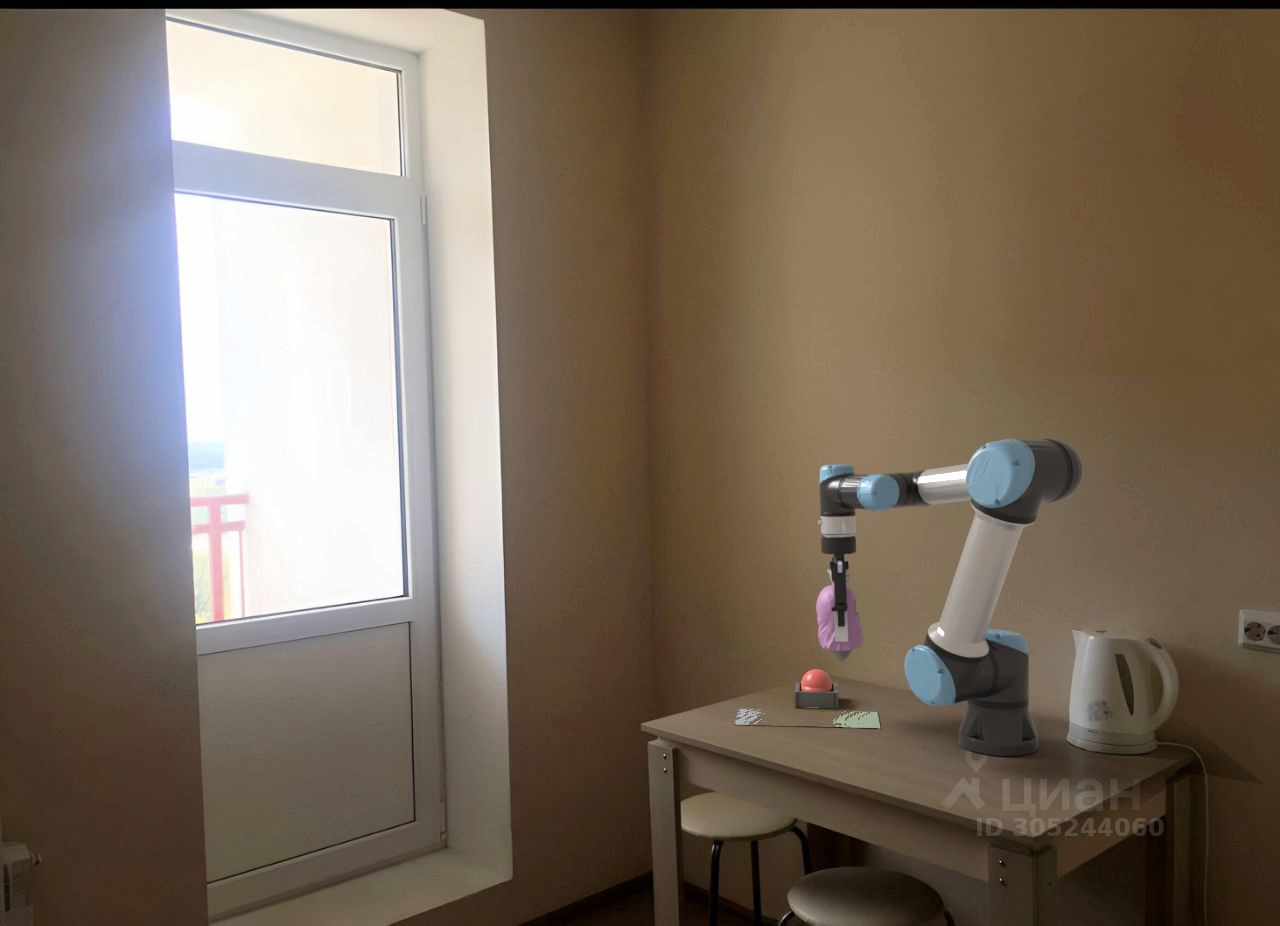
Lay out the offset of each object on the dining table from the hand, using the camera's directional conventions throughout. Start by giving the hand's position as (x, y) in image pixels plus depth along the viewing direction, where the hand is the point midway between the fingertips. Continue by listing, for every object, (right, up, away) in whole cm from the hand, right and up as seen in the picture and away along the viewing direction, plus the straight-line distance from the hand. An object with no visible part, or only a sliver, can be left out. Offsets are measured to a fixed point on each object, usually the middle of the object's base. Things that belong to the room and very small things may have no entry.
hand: (840, 636), depth 231 cm
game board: (-7, -19, +2) cm, 20 cm away
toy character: (0, -5, 0) cm, 5 cm away
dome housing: (-3, -18, +16) cm, 24 cm away
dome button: (-3, -17, +16) cm, 23 cm away
